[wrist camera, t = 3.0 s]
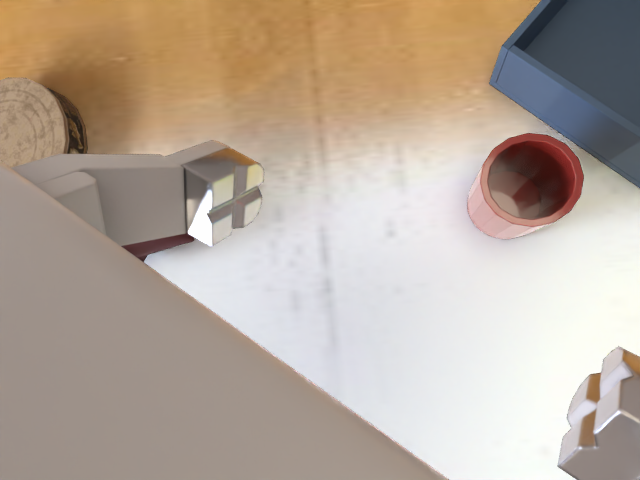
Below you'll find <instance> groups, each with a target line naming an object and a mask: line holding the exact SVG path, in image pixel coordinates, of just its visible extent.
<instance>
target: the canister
mask: <svg viewBox="0 0 640 480" xmlns="http://www.w3.org/2000/svg"><path fill="white" fill-rule="evenodd" d="M583 179H584V175H583V172H582V169H581V165H580V162H579V159H578V157H577V156H576V155H575V154H574V153H573V152H572V151H571V149H570V148H569V147H568V146H567V145H565V143H563V142H561V141H559V140H557V139H555V138H553V137H551V136H548V135H541V134H531V133H527V134H523V135H519V136H515V137H511V138H508V139H507V140H505V141H504V142H503V143H501V144H500V145H498V146H497V147H495V148H494V149H493V150H492V151H491V153H490V154H489V156H488V158H487V159H486V161H485V162H484V164H483V165H482V167H481V169H480V171H479V173H478V175H477V177H476V179H475V181H474V183H473V184H472V186H471V188H470V191H469V195H468V199H467V208H468V213H469V216H470V218H471V220H472V222H473V223H474V225H475V226H476V227H477V228H478V229H479V230H480V231H482V232H483V233H485V234H487V235H489V236H491V237H494V238H498V239H513V238H517V237H520V236H524V235H526V234H529V233H531V232H533V231H536V230H538V229H540V228H542V227H545V226H547V225H549V224H551V223H554V222H555V221H557V220H558V219H560V218H561V217H563V216H564V215H566V214H567V213H569V212H570V211H571V210H572V208H573V207H574V205H575V204H576V202H577V201H578V199H579V198H580V195H581V192H582V186H583Z"/></svg>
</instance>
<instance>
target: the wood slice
mask: <svg viewBox="0 0 640 480" xmlns="http://www.w3.org/2000/svg"><path fill="white" fill-rule="evenodd" d="M57 154H87V140H86V131H85V126H84V124H83V122H82V119H81V117H80V115H79V113H78V110H77V109H76V108H75V107H74V106H73V105H72V104H71V103H70V102H69V101H68V100H67V99H66V98H65V97H64V96H62V95H61V94H59V93H57V92H55V91H53V90H51V89H49V88H47V87H45V86H43V85H41V84H39V83H36V82H34V81H32V80H29V79H27V78H5V79H3V80H0V161H2V162H3V163H4V164H6V165H7V166H9V167H10V168H12V167H15V166H19V165H22V164H26V163H29V162H33V161H36V160H40V159H43V158H47V157H50V156H53V155H57Z"/></svg>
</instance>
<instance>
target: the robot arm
mask: <svg viewBox="0 0 640 480" xmlns="http://www.w3.org/2000/svg"><path fill="white" fill-rule="evenodd" d="M263 182H264V168H263V167H262V165H261V164H260V163H258V162H256V161H254V160H252V159H250V158H248V157H247V156H245V155H243V154H241V153H239V152H237V151H235V150H234V149H231V148H230V147H228V146H226V145H224V144H222V143H220V142H217V141H213V140H211V141H208V142H205V143H202V144H199V145H196V146H194V147H191V148H188V149H185V150H182V151H179V152H176V153H174V154H171V155H168V156H165V157H164V156H162V155H160V154H57V155H53V156H50V157H47V158H43V159H40V160H36V161H33V162H29V163H26V164H22V165H19V166H15V167H12V168H10V167H9V166H7V165H6V164H4V163H3V162H2V161H0V480H449V479H448V478H446V477H445V476H444V475H442V474H441V473H439V472H438V471H437V470H435V469H434V468H432V467H431V466H430V465H428V464H427V463H425V462H424V461H423V460H421V459H420V458H418V457H417V456H415V455H414V454H413V453H411V452H410V451H408V450H407V449H406V448H404V447H403V446H401V445H400V444H399V443H397V442H396V441H394V440H393V439H392V438H390V437H389V436H387V435H386V434H385V433H383V432H382V431H380V430H379V429H378V428H376V427H375V426H373V425H372V424H370V423H369V422H368V421H366V420H365V419H363V418H362V417H361V416H359V415H358V414H356V413H355V412H354V411H352V410H351V409H349V408H348V407H347V406H345V405H344V404H342V403H341V402H340V401H338V400H337V399H335V398H334V397H333V396H331V395H330V394H328V393H327V392H325V391H324V390H323V389H321V388H320V387H318V386H317V385H316V384H314V383H313V382H311V381H310V380H309V379H307V378H306V377H304V376H303V375H302V374H300V373H299V372H297V371H296V370H295V369H293V368H292V367H290V366H289V365H287V364H286V363H285V362H283V361H282V360H280V359H279V358H278V357H276V356H275V355H273V354H272V353H271V352H269V351H268V350H266V349H265V348H264V347H262V346H261V345H259V344H258V343H256V342H255V341H254V340H252V339H251V338H249V337H248V336H247V335H245V334H244V333H242V332H241V331H240V330H238V329H237V328H235V327H234V326H233V325H231V324H230V323H228V322H227V321H226V320H224V319H223V318H221V317H220V316H218V315H217V314H216V313H214V312H213V311H211V310H210V309H209V308H207V307H206V306H204V305H203V304H202V303H200V302H199V301H197V300H196V299H195V298H193V297H192V296H190V295H189V294H188V293H186V292H185V291H183V290H182V289H180V288H179V287H178V286H176V285H175V284H173V283H172V282H171V281H169V280H168V279H166V278H165V277H164V276H162V275H161V274H159V273H158V272H157V271H155V270H154V269H152V268H151V267H149V266H148V265H147V264H145V263H144V262H142V261H141V260H140V259H138V258H137V257H135V256H134V255H133V254H131V253H130V252H128V251H127V250H126V249H124V248H123V247H121V246H123V245H129V244H134V243H139V242H144V241H149V240H155V239H160V238H165V237H170V236H175V235H181V234H185V233H186V232H187V233H189V234H190V235H192V236H194V237H196V238H197V239H199V240H201V241H202V242H204V243H206V244H207V245H209V246H211V247H212V246H214V245H215V244H217V243H219V242H220V241H222V240H224V239H225V238H227V237H229V236H230V235H231V233H232V229H235V228H244V227H245V226H247V225H248V224H250V223H252V221H253V220H254V219H255V217H256V216H257V215H258V213H259V210H260V208H261V204H262V195H261V192H260V190H259V186H260V185H261V184H262V183H263ZM567 420H568V422H569V424H570V426H571V429H570V430H569V431H568V432H567V433H566V434H565V435H564V436H563V439H562V444H561V450H560V455H559V461H558V466H557V467H559V468H560V469H562V470H563V471H565V472H566V473H568V474H569V475H571V476H572V477H574V478H575V479H577V480H640V357H639V356H637V355H635V354H633V353H631V352H629V351H627V350H625V349H623V348H621V347H619V346H618V347H617V348H615V349H614V350H612V351H611V352H610V353H609V354H608V355H607V356H606V357H605V358H604V359H603V365H602V371H601V373H596V374H590V375H589V376H588V377H587V378H586V379H585V380H584V381H583V383H582V384H581V385H580V386H579V388H578V390H577V391H576V393H575V395H574V396H573V398H572V401H571V404H570V406H569V410H568V414H567Z"/></svg>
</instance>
